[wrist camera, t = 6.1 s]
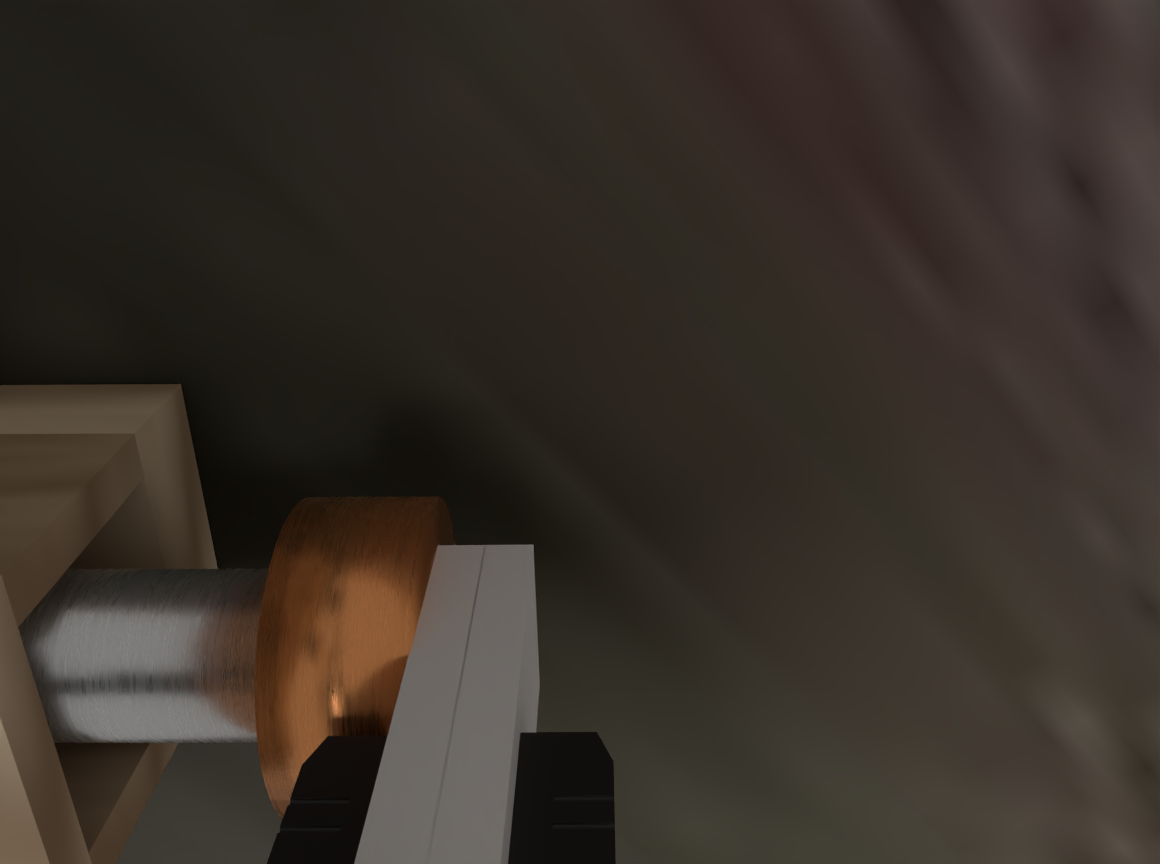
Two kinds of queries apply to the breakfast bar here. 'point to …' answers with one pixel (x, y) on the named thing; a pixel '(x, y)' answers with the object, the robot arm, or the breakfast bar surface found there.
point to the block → (84, 541)
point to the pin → (245, 639)
